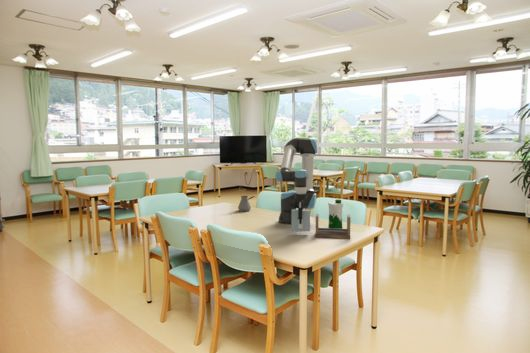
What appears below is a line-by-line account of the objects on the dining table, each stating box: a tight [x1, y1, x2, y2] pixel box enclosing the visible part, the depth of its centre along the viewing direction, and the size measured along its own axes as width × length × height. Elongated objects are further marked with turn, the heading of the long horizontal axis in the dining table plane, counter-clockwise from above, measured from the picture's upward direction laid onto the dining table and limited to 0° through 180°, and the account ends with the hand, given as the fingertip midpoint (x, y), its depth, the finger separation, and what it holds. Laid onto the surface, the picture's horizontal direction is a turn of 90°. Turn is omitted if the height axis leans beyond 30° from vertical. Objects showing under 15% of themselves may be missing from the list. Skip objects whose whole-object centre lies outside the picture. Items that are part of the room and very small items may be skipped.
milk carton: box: [328, 199, 344, 229], centre depth 258 cm, size 9×9×20 cm
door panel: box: [291, 209, 311, 232], centre depth 242 cm, size 3×12×14 cm, turn 80°
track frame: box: [314, 213, 351, 240], centre depth 239 cm, size 12×22×14 cm, turn 80°
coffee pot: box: [237, 195, 256, 213], centre depth 315 cm, size 21×12×15 cm, turn 37°
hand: (300, 227), depth 243 cm, fingers closed on door panel, 3 cm apart
